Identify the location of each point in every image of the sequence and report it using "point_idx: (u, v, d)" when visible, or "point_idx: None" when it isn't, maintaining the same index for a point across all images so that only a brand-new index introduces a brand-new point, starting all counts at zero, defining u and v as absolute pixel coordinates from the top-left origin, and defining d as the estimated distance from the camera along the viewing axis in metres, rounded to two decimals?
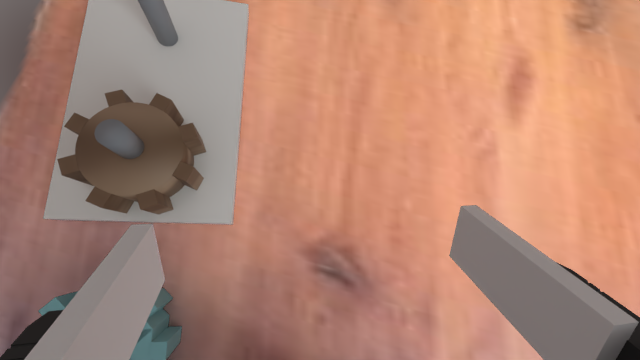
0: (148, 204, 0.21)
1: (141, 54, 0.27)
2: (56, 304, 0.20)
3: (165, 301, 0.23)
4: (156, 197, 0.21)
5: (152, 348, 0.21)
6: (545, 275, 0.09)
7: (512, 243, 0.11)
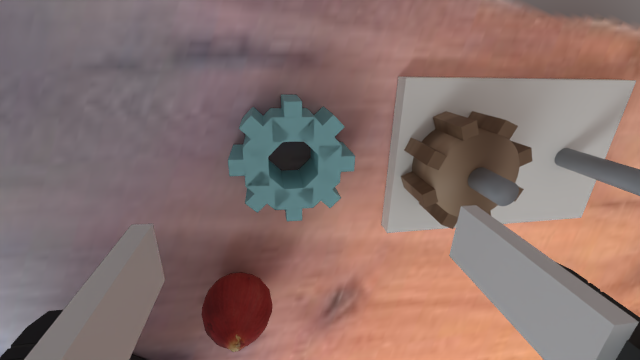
0: (425, 200, 0.23)
1: (551, 137, 0.27)
2: (338, 128, 0.21)
3: None
4: (430, 204, 0.23)
5: (297, 210, 0.23)
6: (545, 275, 0.09)
7: (512, 243, 0.11)
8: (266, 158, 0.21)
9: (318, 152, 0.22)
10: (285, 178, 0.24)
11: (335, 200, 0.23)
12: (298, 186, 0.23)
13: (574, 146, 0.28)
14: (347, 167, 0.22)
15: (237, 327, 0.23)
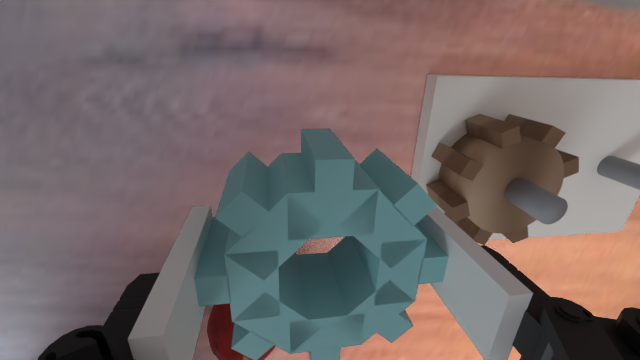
0: (456, 214, 0.20)
1: (595, 143, 0.25)
2: (423, 209, 0.10)
3: None
4: (460, 218, 0.21)
5: (331, 351, 0.12)
6: (465, 255, 0.10)
7: (444, 228, 0.12)
8: (274, 270, 0.10)
9: (380, 254, 0.11)
10: (307, 280, 0.13)
11: (403, 330, 0.12)
12: (335, 308, 0.12)
13: (620, 154, 0.25)
14: (432, 275, 0.11)
15: None
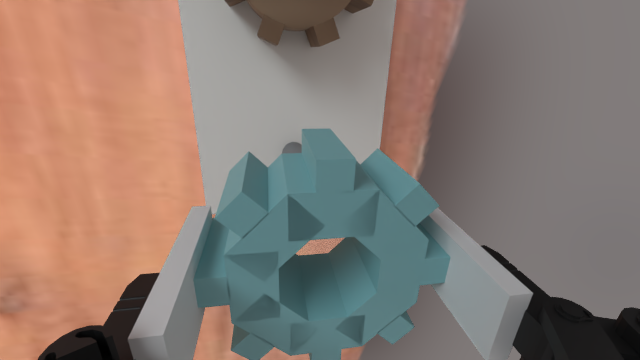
0: None
1: (319, 126, 0.23)
2: (425, 209, 0.10)
3: None
4: None
5: (331, 352, 0.12)
6: (465, 255, 0.10)
7: (444, 228, 0.12)
8: (274, 271, 0.10)
9: (381, 255, 0.10)
10: (308, 281, 0.13)
11: (404, 331, 0.12)
12: (336, 310, 0.12)
13: None
14: (433, 277, 0.11)
15: None
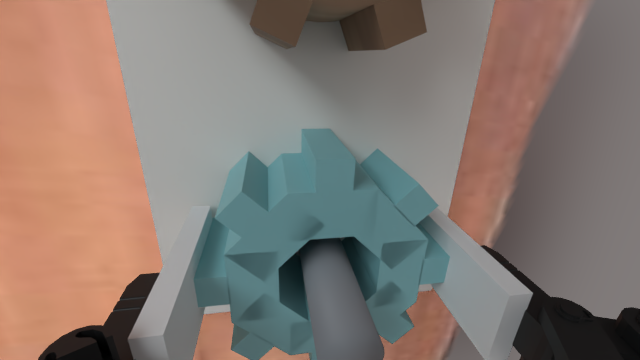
0: None
1: None
2: (425, 209, 0.10)
3: None
4: None
5: None
6: (465, 255, 0.10)
7: (444, 228, 0.12)
8: (274, 271, 0.10)
9: (380, 254, 0.11)
10: None
11: (403, 331, 0.12)
12: None
13: None
14: (433, 276, 0.11)
15: None
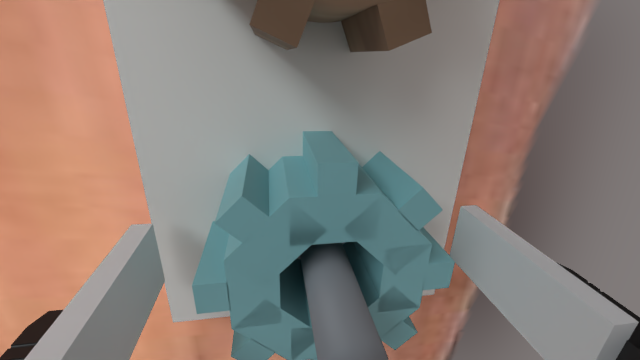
0: None
1: None
2: (429, 214, 0.10)
3: None
4: None
5: None
6: (545, 275, 0.09)
7: (512, 243, 0.11)
8: (275, 277, 0.10)
9: (384, 259, 0.10)
10: None
11: (407, 337, 0.12)
12: None
13: None
14: (437, 282, 0.11)
15: None
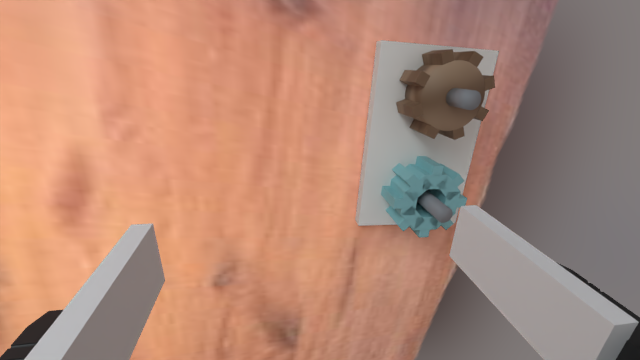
0: (447, 52, 0.29)
1: None
2: (460, 182, 0.34)
3: None
4: (441, 58, 0.29)
5: (426, 230, 0.36)
6: (545, 275, 0.09)
7: (512, 243, 0.11)
8: (416, 198, 0.34)
9: (446, 195, 0.35)
10: (415, 209, 0.37)
11: (450, 225, 0.36)
12: (429, 215, 0.36)
13: None
14: (461, 204, 0.36)
15: None
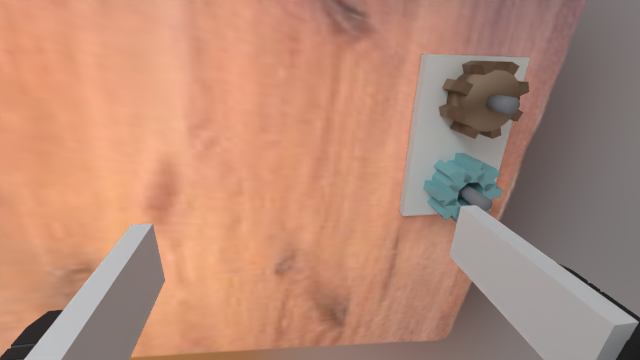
0: (488, 64, 0.33)
1: None
2: (496, 175, 0.39)
3: None
4: (483, 69, 0.33)
5: None
6: (545, 275, 0.09)
7: (512, 243, 0.11)
8: (458, 191, 0.39)
9: (484, 187, 0.39)
10: None
11: None
12: (468, 205, 0.41)
13: None
14: (496, 195, 0.40)
15: None
